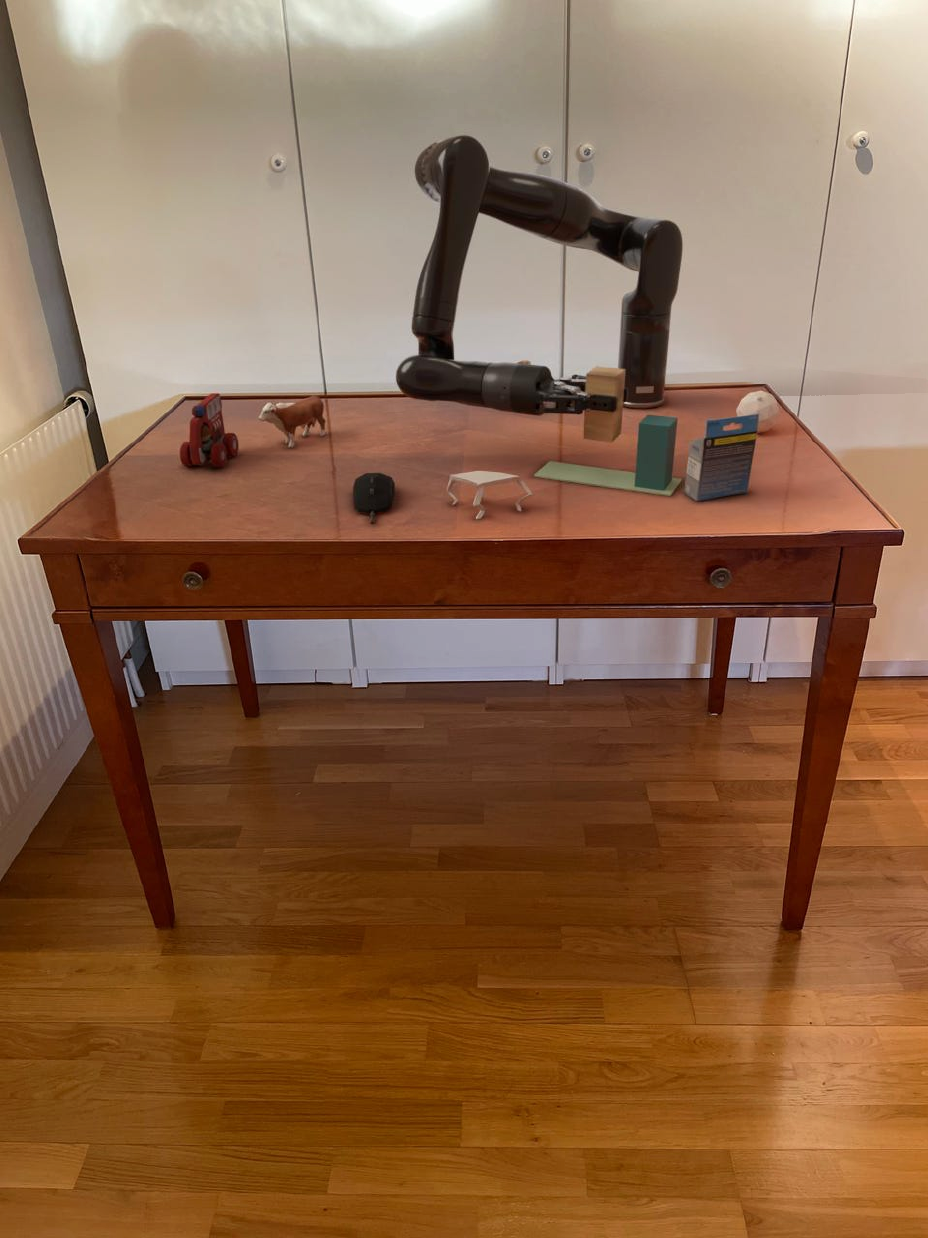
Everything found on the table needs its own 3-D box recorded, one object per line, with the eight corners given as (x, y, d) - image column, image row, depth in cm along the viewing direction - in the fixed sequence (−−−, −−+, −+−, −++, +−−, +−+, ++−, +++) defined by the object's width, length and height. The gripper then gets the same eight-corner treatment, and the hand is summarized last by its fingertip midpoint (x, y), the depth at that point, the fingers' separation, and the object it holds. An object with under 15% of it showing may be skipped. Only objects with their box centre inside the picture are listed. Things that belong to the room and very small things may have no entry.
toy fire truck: (177, 473, 147) (164, 411, 141) (206, 448, 157) (196, 390, 152) (216, 474, 146) (205, 412, 140) (243, 449, 156) (234, 390, 151)
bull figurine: (259, 449, 156) (252, 403, 152) (319, 430, 165) (314, 386, 160) (274, 454, 154) (268, 408, 149) (334, 434, 162) (329, 390, 158)
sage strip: (549, 462, 146) (549, 460, 146) (682, 480, 137) (682, 478, 137) (533, 476, 141) (533, 475, 140) (670, 496, 132) (670, 494, 132)
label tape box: (734, 484, 135) (744, 405, 129) (749, 494, 132) (760, 413, 126) (683, 493, 133) (691, 413, 127) (697, 502, 130) (706, 420, 123)
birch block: (592, 430, 139) (596, 366, 134) (621, 433, 137) (625, 368, 132) (582, 439, 135) (586, 373, 130) (611, 442, 133) (616, 376, 128)
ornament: (785, 429, 157) (789, 402, 150) (746, 447, 157) (749, 420, 150) (766, 401, 160) (769, 373, 153) (728, 419, 160) (729, 391, 153)
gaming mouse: (350, 525, 126) (347, 499, 124) (355, 487, 139) (352, 462, 137) (394, 523, 126) (392, 497, 124) (395, 485, 139) (393, 461, 137)
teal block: (642, 476, 139) (647, 414, 134) (671, 480, 137) (677, 417, 132) (634, 486, 135) (638, 422, 130) (663, 490, 133) (669, 426, 128)
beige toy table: (453, 523, 126) (452, 490, 123) (446, 501, 133) (445, 470, 130) (536, 516, 127) (536, 484, 124) (524, 495, 134) (525, 464, 132)
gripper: (498, 375, 131) (608, 386, 124) (534, 353, 142) (637, 363, 136) (498, 424, 135) (605, 438, 128) (533, 399, 146) (634, 411, 139)
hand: (621, 399), depth 132 cm, fingers closed on birch block, 4 cm apart
